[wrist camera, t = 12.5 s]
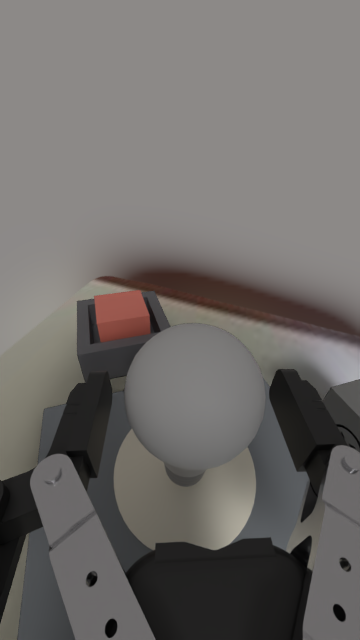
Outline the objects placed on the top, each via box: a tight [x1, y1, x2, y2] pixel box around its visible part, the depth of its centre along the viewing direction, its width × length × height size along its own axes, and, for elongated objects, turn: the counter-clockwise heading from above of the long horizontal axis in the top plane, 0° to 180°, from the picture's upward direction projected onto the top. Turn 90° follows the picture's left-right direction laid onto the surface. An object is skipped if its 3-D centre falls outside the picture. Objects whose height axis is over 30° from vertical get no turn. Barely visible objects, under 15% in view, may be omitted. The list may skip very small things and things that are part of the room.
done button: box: [94, 290, 150, 342], centre depth 24 cm, size 4×4×2 cm
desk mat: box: [17, 378, 309, 640], centre depth 17 cm, size 18×14×1 cm
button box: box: [77, 291, 170, 383], centre depth 25 cm, size 8×8×4 cm
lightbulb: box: [124, 323, 266, 487], centre depth 13 cm, size 6×6×11 cm
